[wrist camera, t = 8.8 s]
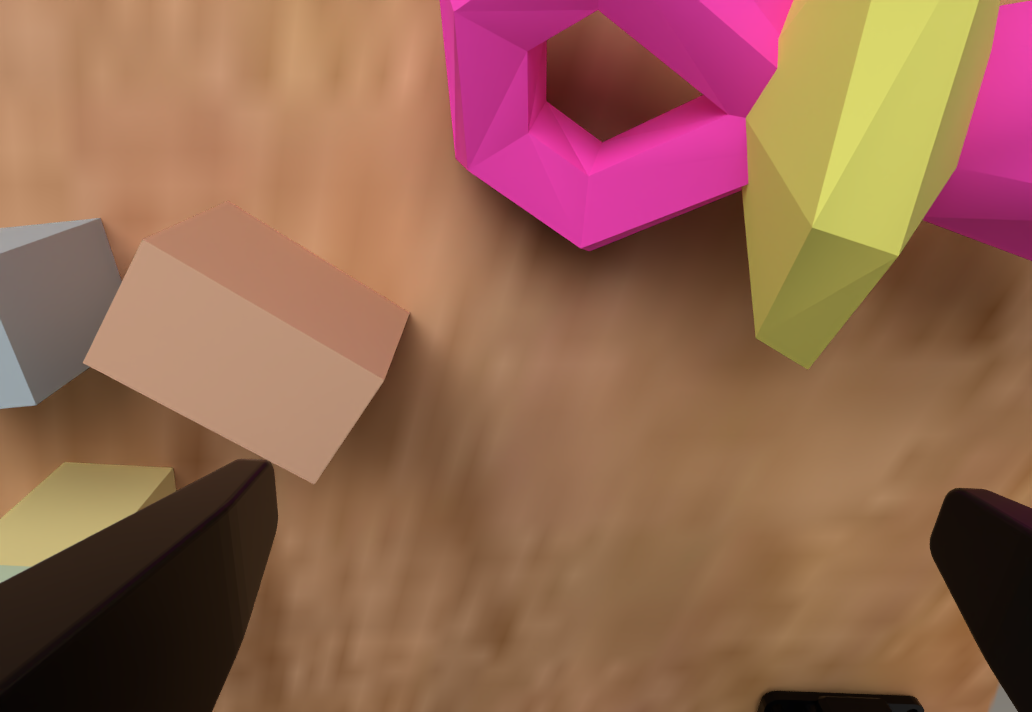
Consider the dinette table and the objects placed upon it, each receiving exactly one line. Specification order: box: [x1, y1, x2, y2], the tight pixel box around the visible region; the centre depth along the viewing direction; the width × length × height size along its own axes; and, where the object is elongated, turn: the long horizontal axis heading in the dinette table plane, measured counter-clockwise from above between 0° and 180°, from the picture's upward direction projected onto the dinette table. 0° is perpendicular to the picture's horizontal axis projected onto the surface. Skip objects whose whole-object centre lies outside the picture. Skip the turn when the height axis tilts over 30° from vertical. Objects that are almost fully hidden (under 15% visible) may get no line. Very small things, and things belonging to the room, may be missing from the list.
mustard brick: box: [0, 462, 176, 567], centre depth 21 cm, size 6×4×5 cm, turn 175°
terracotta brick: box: [83, 201, 410, 484], centre depth 18 cm, size 6×4×5 cm, turn 56°
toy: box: [440, 0, 1032, 370], centre depth 14 cm, size 10×18×10 cm, turn 85°
